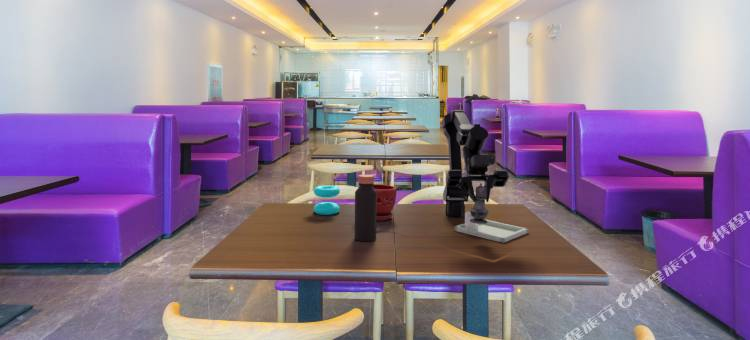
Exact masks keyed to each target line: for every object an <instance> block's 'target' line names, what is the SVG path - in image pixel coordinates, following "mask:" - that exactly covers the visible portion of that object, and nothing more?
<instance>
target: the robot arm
mask: <svg viewBox="0 0 750 340" xmlns="http://www.w3.org/2000/svg"><path fill="white" fill-rule="evenodd" d="M441 128H442V129H443V131H442V132H443V135H444V136H445V137H446V139H447V142H448V143H447V144H448V163H449V164H448V165H449V170H448V171H447V174H446V177H445V186H444V189H443V193H442V199H443V201H444V202H445V213H444V214H443V216H445V217H450V218H454V219H458V218H463V217H465V212H466V205H465V202H466V203H468V202H469V198H470V199H471V201H472V202H473V203H475V201H476V198H475V194H476V192H475V189H474V185H473V182H484V185H483V187H485V198H486V199H485V203H489V201H490V194H491V190H493V189H494V188H502V187H505V185H506V183H507V182H508V179H509V178H510V176H509V175H510V174H509V172H508V171H507V170H506V169H504V170H503V169H501V170H500V169H499V170H498V169H496V170H494V171H493V174H489V173H487V172H488V167H490V166H494V164H495V163H496V158H495V154H494V153H488V154H482V150H483V149H484V148H485V145H486V142H487V140H488V138H489V131H488V130H487V129H486V128H485V127H482V126H481V123H476V124H475V123H474V124H473V125H472V124H471V122H470V120H469V118H468V116H467V113H466V111H465V110H463V109H453V110H451V111H450V113H447V114H445V115H444V116H443V118H442V120H441ZM461 146H463V147H462V149H461ZM461 151H462V152H461ZM462 157H463V160H464V161H463V162H464V171H466V172H463V168H462V167H463V166H462ZM486 173H487V174H486Z"/></svg>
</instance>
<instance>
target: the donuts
mask: <svg viewBox="0 0 750 340" xmlns="http://www.w3.org/2000/svg"><path fill="white" fill-rule="evenodd" d="M340 191H341V189H340V188H339V187H338V186H335V185H319V186H315V187H314V189H313V194H314V195H315V196H316V197H319V198H325V199H326V198H335V197H337V196H338V195H339V194H340ZM340 210H341V209H340V205H339V204H337V203H335V202H330V201H324V202H318V203H317V204H315V205H314V207H313V212H314V213H315V214H317V215H323V216H331V215H336V214H338V213H339V212H340Z"/></svg>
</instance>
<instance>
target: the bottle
mask: <svg viewBox="0 0 750 340" xmlns="http://www.w3.org/2000/svg"><path fill="white" fill-rule="evenodd" d="M357 181H358V188H356V190H355V191H354V239H355V240H356V241H358V242H367V243H368V242H373V241H375V240H377V220H376V213H377V191H376V190H375V189H374V188H373V185H374V184H375V175H373V174H359V175H357Z"/></svg>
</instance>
